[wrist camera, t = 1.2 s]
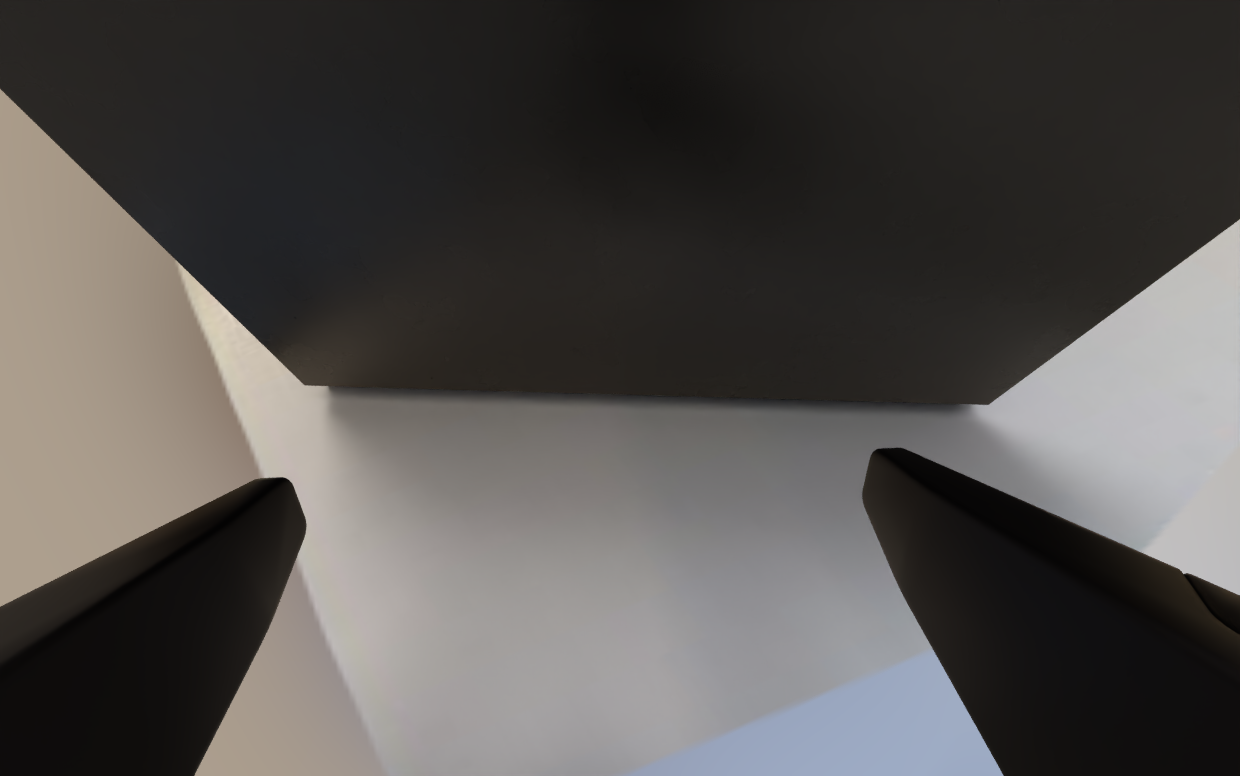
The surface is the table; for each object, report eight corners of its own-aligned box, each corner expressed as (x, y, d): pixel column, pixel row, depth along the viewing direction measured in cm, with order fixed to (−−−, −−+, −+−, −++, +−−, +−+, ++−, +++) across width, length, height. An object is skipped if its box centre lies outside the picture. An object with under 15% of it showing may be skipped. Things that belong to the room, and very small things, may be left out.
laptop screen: (-783, -769, 5) (-903, -788, 5) (2323, -670, 5) (2458, -678, 5) (310, 370, 23) (304, 385, 23) (982, 389, 23) (988, 405, 23)
